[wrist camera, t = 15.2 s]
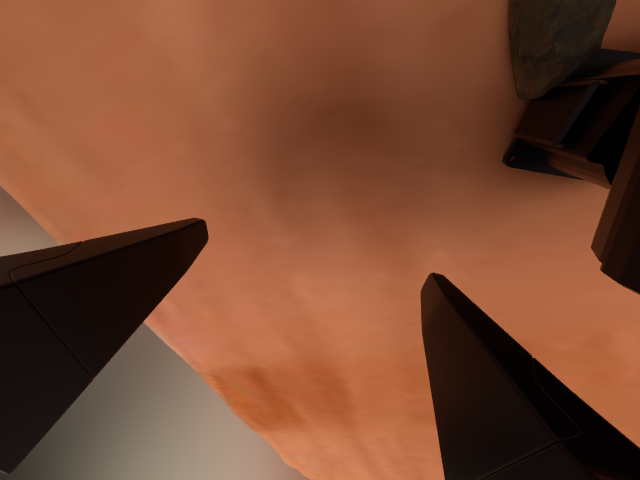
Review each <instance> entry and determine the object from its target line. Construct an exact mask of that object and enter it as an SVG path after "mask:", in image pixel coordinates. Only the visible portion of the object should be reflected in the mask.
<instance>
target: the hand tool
mask: <svg viewBox="0 0 640 480" xmlns="http://www.w3.org/2000/svg"><path fill="white" fill-rule="evenodd" d="M615 5H616V0H509V36H510V46H511V56H512V64H513V71H514V76H515V80H516V85H517V91H518V94H519V96H520V97H521V98H523V99H535V98H538V97H540V96H543V95H544V94H546V93H547V92H548V91H549V90H550V89H552V88H553V87H554V86H556V85H558V84H560V83H561V82H562V81H564V79H565V78H566V77H568V76H569V75H570V74H571V73H572V72H573V71H575V70H576V69H577V68H578V67H579V66H580V65H582V64H583V63H584V62H585V61H586V60H587V59H588V58H589V57H590V56H591V55H592V54H593V53H594V52H595V51H596V50H597V49H599V48H600V47H601V44H602V40H603V36H604V34H605V31H606V29H607V27H608V23H609V21H610V19H611V15H612V12H613V10H614V7H615Z"/></svg>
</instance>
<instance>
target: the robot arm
mask: <svg viewBox="0 0 640 480" xmlns="http://www.w3.org/2000/svg"><path fill="white" fill-rule="evenodd" d="M515 135H516V136H515V138H514V140H513V142H512V144H511V145H510V147H509V149H508V151H507V153H506V154H505V156H504V158H503V163H504V164H505V165H506V166H509V167H512V168H518V169H524V170H529V171H535V172H541V173H546V174H552V175H558V176H563V177H569V178H575V179H580V180H586V181H589V182H591V183H594V184H597V185H599V186H602V187H605V188H607V189H610V191H609V194H608V197H607V200H606V203H605V206H604V209H603V212H602V215H601V218H600V221H599V223H598V226H597V229H596V232H595V235H594V238H593V242H592V245H591V249H592V250H593V252H594V253H595V255H596V257H597V258H598V260H599V261H600V262H601V263H602V265H601V268H600V270H601V271H602V272H603V273H604V274H606V275H607V276H609V277H610V278H612V279H613V280H614V281H616V282H617V283H619V284H620V285H622V286H623V287H625V288H627V289H629V290H631V291H633V292H635V293H637V294H639V295H640V53H634V52H626V51H618V50H609V49H601V48H599V49H597V50H596V51H595V52H594V53H593V54H592V55H591V56H590V57H589V58H588V59H587V60H586V61H585V62H584V63H583V64H582V65H580V66H579V67H578V68H577V69H576V70H575V71H573V72H572V73H571V74H570V75H569V76H568V77H566V78H565V79H564V81H562V82H561V83H560V84H558V85H556V86H554V87H553V88H552V89H550V90H549V91H548V92H547V93H546V94H544V95H543V96H540V97H538V98H535V99H533V100H532V102H531V104H530V106H529V107H528V109H527V111H526V113H525V115H524V117H523V118H522V120H521V122H520V124H519V126H518V127H517V129H516V131H515ZM513 156H516V159H515V160H514V161H513V162H510V159H511V158H512V157H513ZM207 242H208V231H207V225H206V222H205V221H204V220H203V219H198V218H190V219H186V220H181V221H176V222H171V223H167V224H162V225H157V226H152V227H147V228H143V229H138V230H133V231H128V232H124V233H119V234H114V235H109V236H104V237H100V238H95V239H90V240H85V241H84V242H82V241H80V242H76V243H71V244H66V245H61V246H56V247H51V248H46V249H41V250H35V251H30V252H24V253H19V254H13V255H8V256H2V257H0V471H1V472H3V473H6V474H11V473H12V472H13V471H14V470H15V469H16V468H17V467H18V466H19V465H20V464H21V462H22V461H23V460H24V459H25V458H26V457H27V456H28V454H29V453H30V452H31V451H32V450H33V449H34V448H35V446H36V445H37V444H38V443H39V442H40V441H41V439H42V438H43V437H44V436H45V435H46V434H47V433H48V431H49V430H50V429H51V428H52V426H54V424H55V423H56V422H57V421H58V420H59V419H60V418H61V416H62V415H63V414H64V413H65V412H66V410H67V409H68V408H69V407H70V406H71V405H72V404H73V403H74V401H75V400H76V399H77V398H78V397H79V396H80V394H81V393H82V392H83V391H84V390H85V388H87V386H88V385H89V384H90V383H91V382H92V381H93V378H95V377H96V376H97V374H98V373H99V372H100V371H101V370H102V369H103V368H104V366H105V365H106V364H107V363H108V362H109V361H110V360H111V358H112V357H113V356H114V355H115V354H116V353H117V351H118V350H119V349H120V348H121V347H122V346H123V345H124V343H125V342H126V341H127V340H128V339H129V338H130V336H131V335H132V334H133V333H134V332H135V331H136V330H137V328H138V327H139V326H140V325H141V324H142V323H143V321H144V320H145V319H146V318H147V317H148V316H149V315H150V313H151V312H152V311H153V310H154V309H155V308H156V307H157V305H158V304H159V303H160V302H161V301H162V300H163V298H164V297H165V296H166V295H167V294H168V293H169V292H170V290H171V289H172V288H173V287H174V286H175V285H176V283H177V282H178V281H179V280H180V279H181V278H182V277H183V275H184V274H185V273H186V272H187V270H188V269H189V268H190V266H191V265H192V264H193V262H194V261H195V259H196V258H197V256H198V255H199V254H200V252H201V251H202V249H203V248H204V246H205V245H206V244H207ZM421 321H422V335H423V342H424V348H425V355H426V361H427V368H428V374H429V381H430V387H431V393H432V400H433V406H434V413H435V419H436V425H437V432H438V438H439V445H440V451H441V458H442V464H443V470H444V477H445V480H640V448H639V447H638V446H637V445H636V444H634V443H633V442H632V441H631V440H630V439H628V438H627V437H626V436H625V435H624V434H622V433H621V432H620V431H619V430H618V429H616V428H615V427H614V426H613V425H612V424H610V423H609V422H608V421H607V420H605V419H604V418H603V417H602V416H601V415H599V414H598V413H597V412H596V411H595V410H594V409H592V408H591V407H590V406H589V405H588V404H586V403H585V402H584V401H583V400H582V399H580V398H579V397H578V396H577V395H576V394H575V393H573V392H572V391H571V390H570V389H569V388H568V387H566V386H565V385H564V384H563V383H562V382H561V381H560V380H559V379H557V378H556V377H555V376H554V375H553V374H552V373H551V372H549V371H548V370H547V369H546V368H545V367H544V366H543V365H542V364H541V363H540V362H539V361H537V360H536V359H535V358H532V355H531V354H530V353H529V352H527V351H526V350H525V349H524V348H523V347H522V346H521V345H520V344H519V343H517V342H516V341H515V340H514V339H513V338H512V337H511V336H510V335H509V334H508V333H506V332H505V331H504V330H503V329H502V328H501V327H500V326H499V325H498V324H497V323H495V322H494V321H493V320H492V319H491V318H490V317H489V316H488V315H487V314H486V313H484V312H483V311H482V310H481V309H480V308H479V307H478V306H477V305H476V304H475V303H473V302H472V301H471V300H470V299H469V298H468V297H467V296H466V295H465V294H464V293H462V292H461V291H460V290H459V289H458V288H457V287H456V286H455V285H454V284H452V283H451V282H450V281H449V280H448V279H447V278H446V277H445V276H444V275H441V274H437V273H430V274H429V276H428V278H427V280H426V281H425V283H424V285H423V287H422V290H421Z"/></svg>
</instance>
